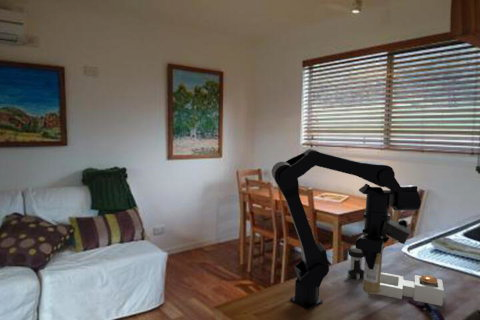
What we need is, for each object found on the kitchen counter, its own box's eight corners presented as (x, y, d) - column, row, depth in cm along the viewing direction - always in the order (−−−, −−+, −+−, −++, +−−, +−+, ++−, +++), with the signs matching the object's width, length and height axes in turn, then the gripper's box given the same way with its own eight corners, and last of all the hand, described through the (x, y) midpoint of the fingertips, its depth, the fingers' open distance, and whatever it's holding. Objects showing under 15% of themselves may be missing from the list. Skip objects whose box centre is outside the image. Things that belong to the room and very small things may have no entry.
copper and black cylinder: (419, 298, 104) (421, 279, 103) (419, 292, 107) (421, 274, 106) (435, 301, 102) (437, 282, 101) (435, 295, 106) (436, 276, 105)
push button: (350, 283, 112) (351, 251, 111) (339, 276, 117) (341, 245, 116) (367, 280, 115) (369, 249, 113) (356, 273, 120) (358, 243, 118)
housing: (368, 292, 107) (369, 277, 106) (371, 279, 115) (372, 266, 114) (442, 307, 99) (444, 291, 99) (440, 293, 107) (441, 278, 107)
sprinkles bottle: (382, 291, 101) (386, 243, 100) (374, 296, 98) (378, 247, 97) (367, 285, 105) (370, 239, 103) (358, 290, 101) (362, 242, 100)
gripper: (406, 224, 86) (400, 287, 89) (413, 207, 103) (408, 260, 105) (357, 216, 92) (353, 276, 94) (371, 201, 108) (367, 252, 110)
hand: (372, 266), depth 101 cm, fingers closed on sprinkles bottle, 4 cm apart
